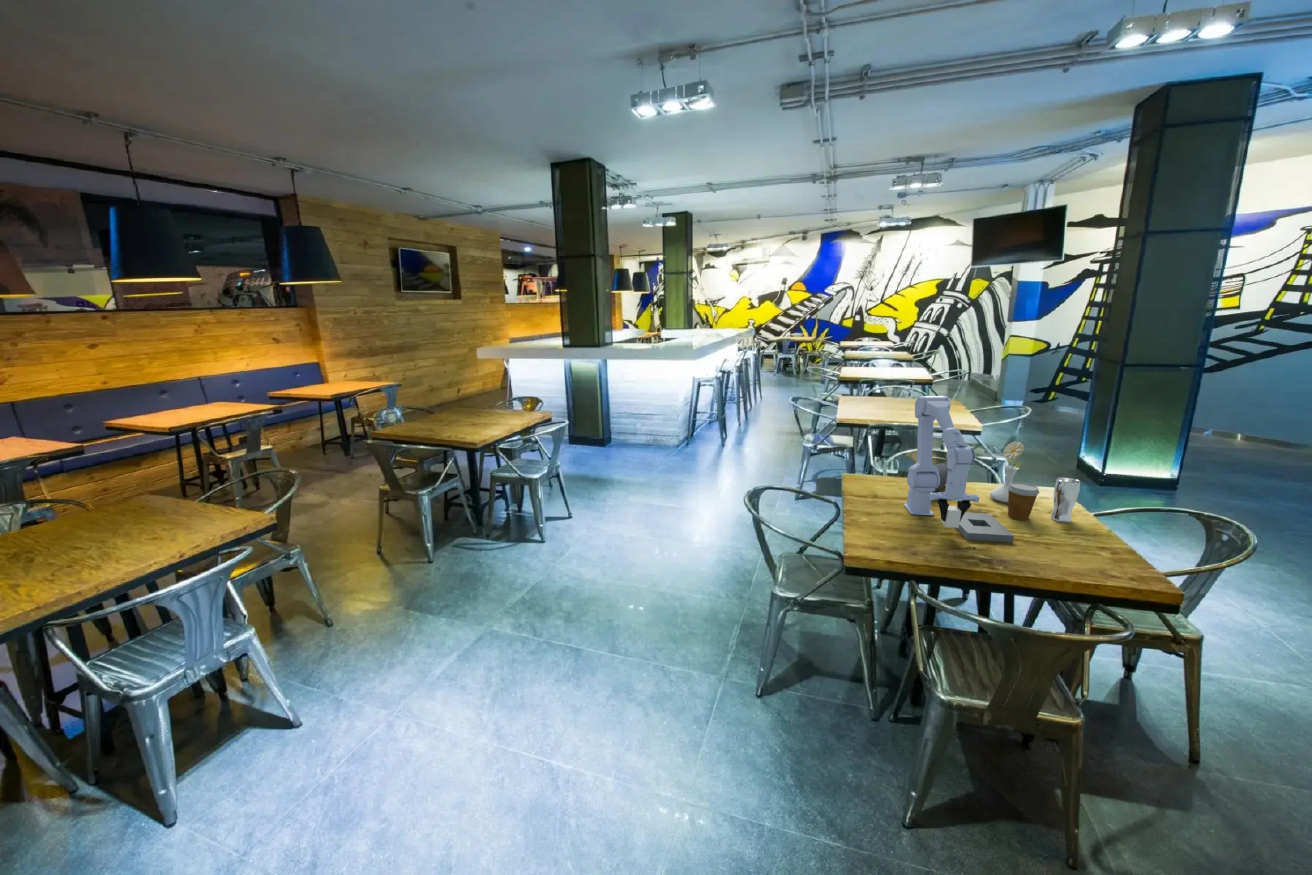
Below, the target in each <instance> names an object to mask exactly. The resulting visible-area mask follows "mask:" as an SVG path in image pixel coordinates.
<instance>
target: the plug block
mask: <svg viewBox="0 0 1312 875" xmlns="http://www.w3.org/2000/svg"><path fill="white" fill-rule="evenodd" d="M960 517H961V510H960V509H959V508H958V507H957V506H956V505H954V506H953V505H952V506H951V505H949V507H948V510H947V514H946V520H945V521H942V520H941V523H942V525H943V526H944V527H945V528H954V529H956V528H959V523H960Z"/></svg>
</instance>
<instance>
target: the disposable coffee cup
mask: <svg viewBox="0 0 1312 875" xmlns="http://www.w3.org/2000/svg"><path fill="white" fill-rule="evenodd" d="M1008 490H1009V493H1008V503H1007V515H1008V517H1009V518H1011V519H1014V520H1017V519H1018V520H1019V521H1029V519H1030V516H1031V513H1032V510H1033V507H1034V505H1035V502H1036V499H1037V496H1039V494H1040V491H1039V490H1040V489H1039V487H1038V486H1036V485H1034V484H1031V483H1027V482H1022V481H1015V482H1014V481H1012V483H1010V484H1009V486H1008Z"/></svg>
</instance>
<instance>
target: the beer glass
mask: <svg viewBox="0 0 1312 875" xmlns="http://www.w3.org/2000/svg"><path fill="white" fill-rule="evenodd" d="M1055 482H1056V483H1055V484H1054V485H1055V486H1054V489H1053V509H1052V512H1051V514H1050V519H1051V520H1053V521H1055V522H1059V523H1065V524H1066V523H1071V522H1072V512H1073V508H1074V507H1075V505H1076V503H1077V501H1078V497H1079V494H1080V488H1081V481H1080V480H1079V479H1076V478H1073V477H1065V476H1062V477H1061V476H1059V477H1057V478H1056V481H1055Z"/></svg>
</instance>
